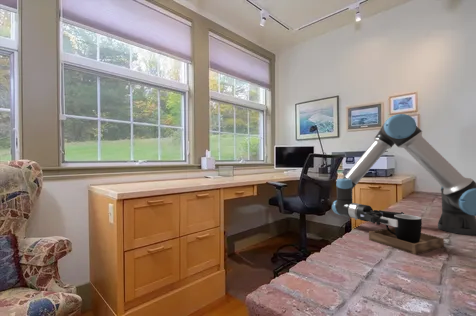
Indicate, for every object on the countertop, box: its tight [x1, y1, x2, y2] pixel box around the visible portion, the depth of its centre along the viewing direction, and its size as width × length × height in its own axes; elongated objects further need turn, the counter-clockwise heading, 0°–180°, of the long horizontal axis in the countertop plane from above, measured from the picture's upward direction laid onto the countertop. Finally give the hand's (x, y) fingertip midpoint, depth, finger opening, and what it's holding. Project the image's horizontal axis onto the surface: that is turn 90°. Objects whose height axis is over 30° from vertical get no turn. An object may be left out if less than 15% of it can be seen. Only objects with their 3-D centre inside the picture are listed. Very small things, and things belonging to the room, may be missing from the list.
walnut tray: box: [368, 226, 445, 256], centre depth 94 cm, size 18×18×4 cm
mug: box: [385, 213, 423, 243], centre depth 94 cm, size 12×9×10 cm
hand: (408, 221), depth 92 cm, fingers open, 13 cm apart
